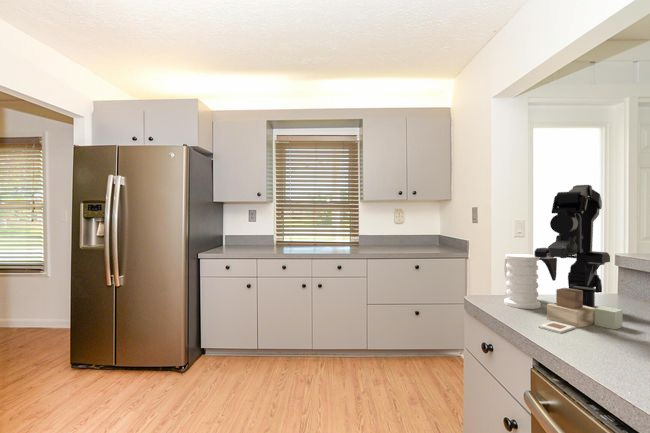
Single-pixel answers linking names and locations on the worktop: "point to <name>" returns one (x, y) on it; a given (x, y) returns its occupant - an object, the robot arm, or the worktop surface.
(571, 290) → the walnut cube
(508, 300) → the decorative container
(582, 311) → the birch plinth
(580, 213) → the robot arm
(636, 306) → the worktop surface
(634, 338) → the worktop surface
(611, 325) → the sage cube
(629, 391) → the worktop surface
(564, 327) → the card
